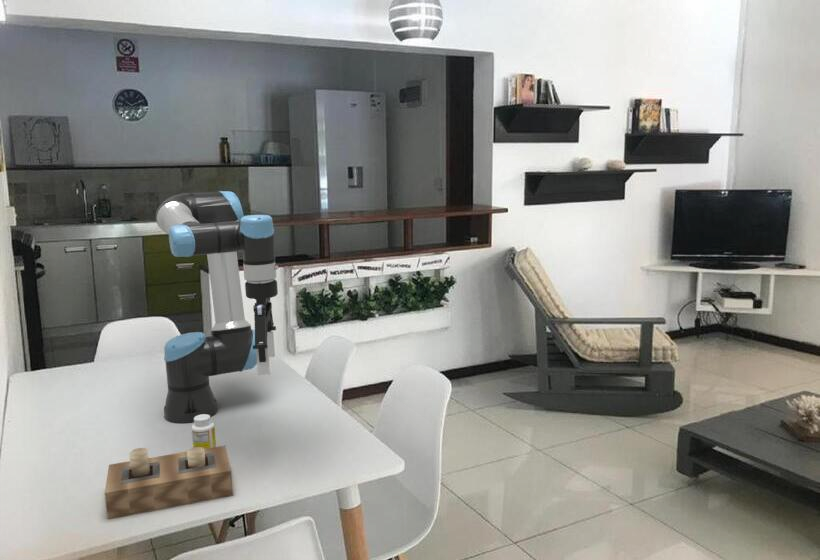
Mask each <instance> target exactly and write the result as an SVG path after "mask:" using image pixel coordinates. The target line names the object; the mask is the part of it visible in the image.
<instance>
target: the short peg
mask: <svg viewBox="0 0 820 560" xmlns="http://www.w3.org/2000/svg"><path fill="white" fill-rule="evenodd" d="M186 452H187V458H188V469H191V468H197V467H203V466H206V463H205V452H204V448H202V447H195V448H193V447H191V448H189V449H188V450H186Z"/></svg>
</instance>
